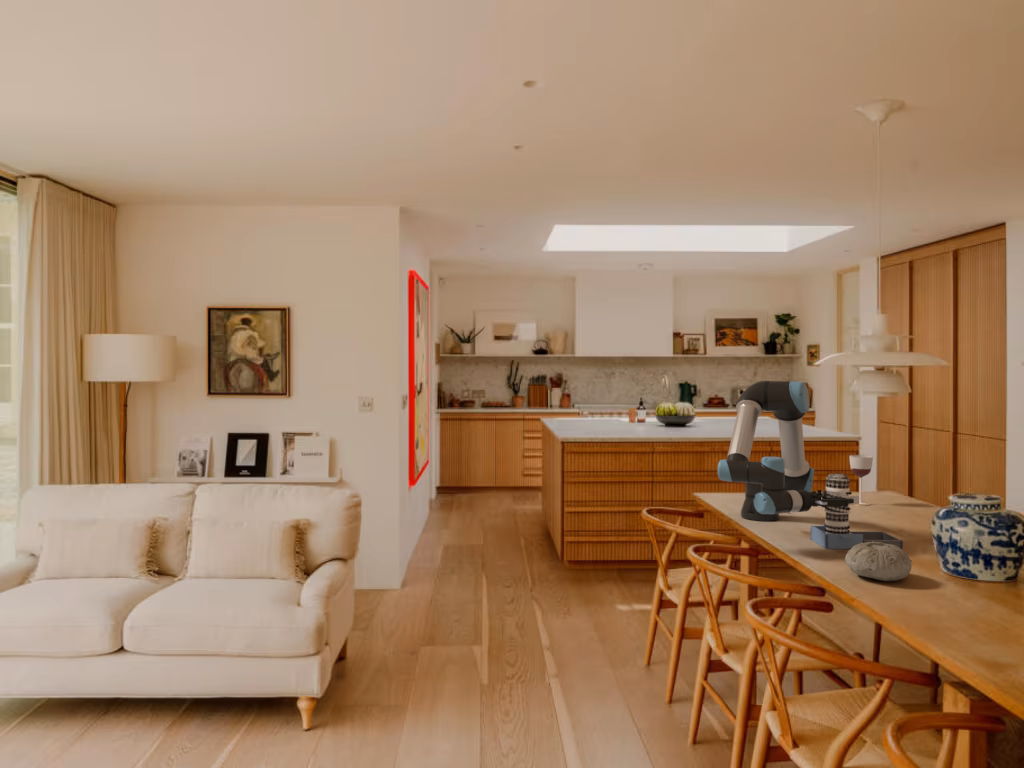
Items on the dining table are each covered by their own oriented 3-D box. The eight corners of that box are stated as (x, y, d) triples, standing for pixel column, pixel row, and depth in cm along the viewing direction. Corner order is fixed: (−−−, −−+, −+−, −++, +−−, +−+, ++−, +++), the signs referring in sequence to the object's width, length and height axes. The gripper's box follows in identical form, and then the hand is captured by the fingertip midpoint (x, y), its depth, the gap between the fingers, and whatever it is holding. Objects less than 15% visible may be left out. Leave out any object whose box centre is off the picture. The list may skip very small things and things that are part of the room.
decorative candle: (840, 540, 263) (841, 472, 262) (856, 547, 254) (857, 476, 253) (817, 541, 261) (818, 472, 261) (833, 548, 252) (834, 476, 252)
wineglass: (849, 501, 336) (849, 454, 336) (872, 503, 332) (872, 455, 332) (848, 504, 329) (849, 456, 328) (872, 506, 324) (872, 457, 324)
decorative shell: (892, 590, 205) (893, 555, 205) (833, 575, 220) (833, 542, 219) (922, 579, 216) (923, 546, 215) (864, 565, 230) (864, 534, 230)
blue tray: (827, 550, 249) (828, 535, 249) (808, 537, 267) (808, 524, 266) (865, 550, 249) (865, 536, 248) (843, 538, 266) (843, 524, 266)
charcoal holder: (862, 549, 251) (863, 540, 250) (845, 539, 264) (845, 531, 264) (902, 549, 250) (902, 540, 250) (883, 539, 264) (883, 531, 264)
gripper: (775, 505, 262) (825, 502, 269) (818, 518, 241) (871, 513, 248) (775, 485, 262) (825, 482, 269) (818, 495, 241) (872, 492, 248)
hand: (847, 497), depth 258 cm, fingers open, 9 cm apart
